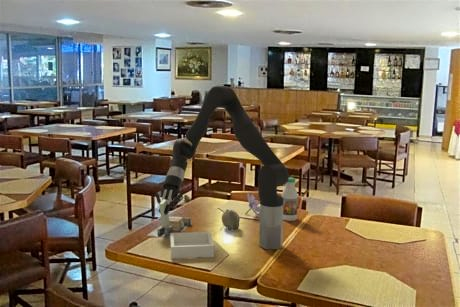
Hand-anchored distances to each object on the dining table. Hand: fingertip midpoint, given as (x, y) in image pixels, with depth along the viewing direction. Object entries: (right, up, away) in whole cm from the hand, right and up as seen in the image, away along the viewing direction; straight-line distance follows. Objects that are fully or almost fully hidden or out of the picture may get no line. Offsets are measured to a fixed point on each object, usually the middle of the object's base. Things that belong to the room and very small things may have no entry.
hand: (162, 213), depth 198 cm
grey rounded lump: (+28, -9, +14) cm, 33 cm away
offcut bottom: (+3, -8, +11) cm, 14 cm away
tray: (+13, -13, -13) cm, 22 cm away
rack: (+2, -9, +8) cm, 12 cm away
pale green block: (+1, -5, +4) cm, 6 cm away
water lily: (+40, -6, +35) cm, 54 cm away
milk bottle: (+56, -7, +30) cm, 64 cm away
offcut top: (+3, -6, +11) cm, 12 cm away
